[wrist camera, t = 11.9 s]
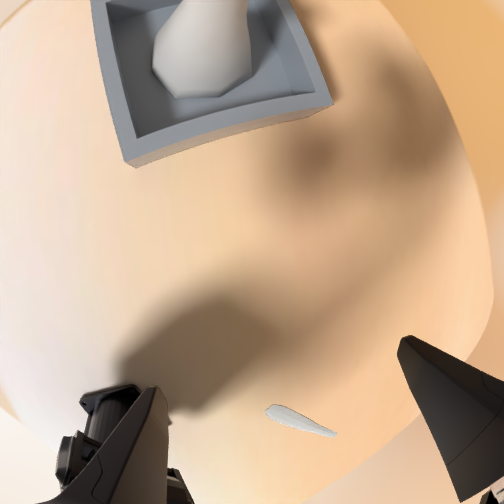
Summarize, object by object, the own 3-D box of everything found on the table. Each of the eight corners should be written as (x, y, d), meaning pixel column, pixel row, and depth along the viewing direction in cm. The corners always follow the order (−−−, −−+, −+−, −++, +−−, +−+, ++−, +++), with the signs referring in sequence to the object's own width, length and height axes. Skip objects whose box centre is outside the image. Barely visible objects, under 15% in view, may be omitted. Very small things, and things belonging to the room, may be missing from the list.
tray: (135, 168, 17) (124, 162, 13) (100, 26, 13) (90, -1, 9) (306, 117, 19) (333, 104, 15) (254, -8, 15) (269, -34, 12)
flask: (166, 116, 16) (158, 38, 6) (138, 35, 14) (125, -60, 4) (267, 86, 17) (343, 16, 7) (233, 12, 15) (277, -75, 5)
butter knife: (282, 396, 24) (262, 416, 24) (382, 441, 33) (370, 453, 33) (280, 393, 25) (260, 413, 24) (380, 439, 34) (368, 451, 34)
